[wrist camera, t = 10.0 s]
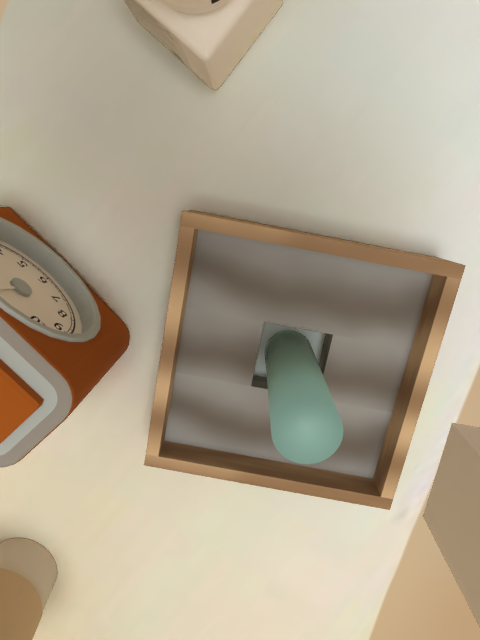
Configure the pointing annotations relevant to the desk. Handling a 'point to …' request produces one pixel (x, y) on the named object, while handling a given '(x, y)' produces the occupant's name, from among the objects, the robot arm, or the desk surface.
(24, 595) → the coffee cup
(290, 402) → the peg
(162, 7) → the container
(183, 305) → the socket box
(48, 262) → the alarm clock
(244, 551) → the desk surface
